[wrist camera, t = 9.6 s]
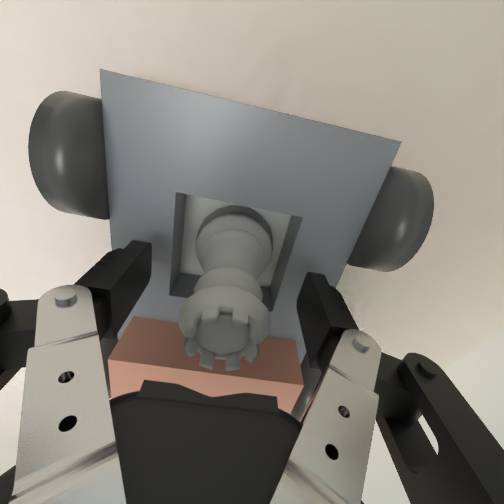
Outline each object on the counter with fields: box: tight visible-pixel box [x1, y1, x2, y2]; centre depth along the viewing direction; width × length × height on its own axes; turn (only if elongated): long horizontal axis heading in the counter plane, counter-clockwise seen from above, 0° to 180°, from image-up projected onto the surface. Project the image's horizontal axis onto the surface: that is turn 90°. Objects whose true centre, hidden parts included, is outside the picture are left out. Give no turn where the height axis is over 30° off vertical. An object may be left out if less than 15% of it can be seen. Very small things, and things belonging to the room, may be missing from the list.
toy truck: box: [28, 69, 434, 421], centre depth 14 cm, size 15×20×6 cm
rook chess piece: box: [179, 206, 273, 371], centre depth 11 cm, size 4×4×8 cm
